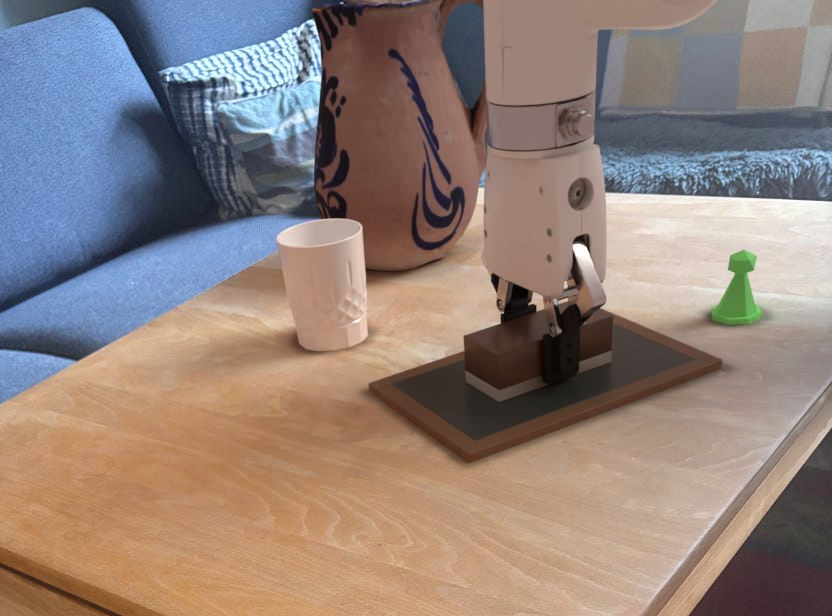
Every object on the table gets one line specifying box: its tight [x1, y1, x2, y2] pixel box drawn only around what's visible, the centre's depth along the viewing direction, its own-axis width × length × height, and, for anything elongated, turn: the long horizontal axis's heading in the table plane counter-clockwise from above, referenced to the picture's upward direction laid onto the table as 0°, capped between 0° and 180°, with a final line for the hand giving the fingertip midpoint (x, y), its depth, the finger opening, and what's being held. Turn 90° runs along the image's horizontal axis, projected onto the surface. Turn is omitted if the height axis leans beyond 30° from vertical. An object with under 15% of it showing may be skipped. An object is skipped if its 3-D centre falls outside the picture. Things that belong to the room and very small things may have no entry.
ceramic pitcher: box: [311, 0, 487, 272], centre depth 102 cm, size 18×21×25 cm
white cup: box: [275, 218, 369, 352], centre depth 90 cm, size 8×8×10 cm
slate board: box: [368, 307, 723, 464], centre depth 80 cm, size 24×16×1 cm, turn 117°
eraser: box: [462, 300, 613, 402], centre depth 79 cm, size 11×5×4 cm, turn 117°
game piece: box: [710, 249, 763, 326], centre depth 84 cm, size 4×4×6 cm
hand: (539, 364), depth 80 cm, fingers closed on eraser, 5 cm apart
